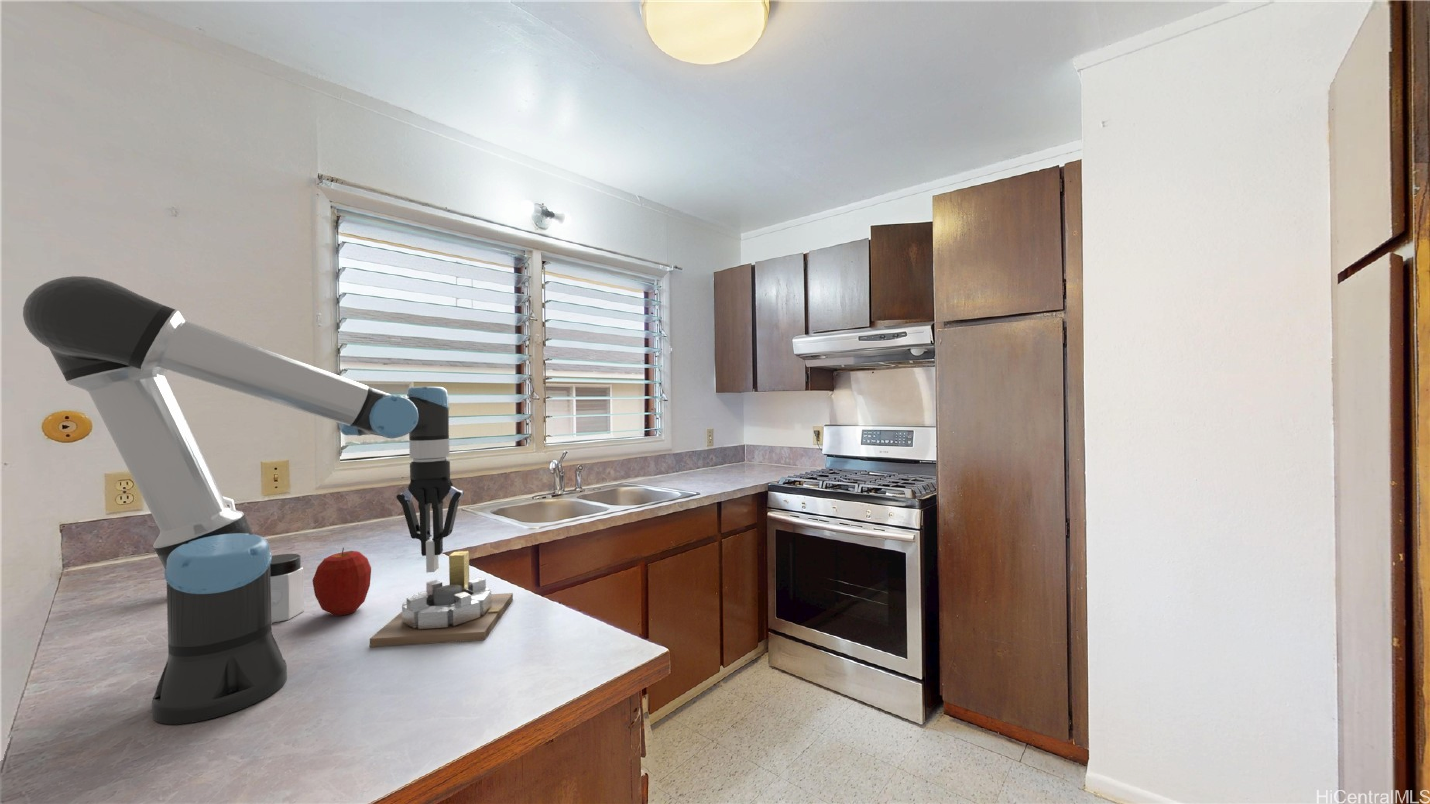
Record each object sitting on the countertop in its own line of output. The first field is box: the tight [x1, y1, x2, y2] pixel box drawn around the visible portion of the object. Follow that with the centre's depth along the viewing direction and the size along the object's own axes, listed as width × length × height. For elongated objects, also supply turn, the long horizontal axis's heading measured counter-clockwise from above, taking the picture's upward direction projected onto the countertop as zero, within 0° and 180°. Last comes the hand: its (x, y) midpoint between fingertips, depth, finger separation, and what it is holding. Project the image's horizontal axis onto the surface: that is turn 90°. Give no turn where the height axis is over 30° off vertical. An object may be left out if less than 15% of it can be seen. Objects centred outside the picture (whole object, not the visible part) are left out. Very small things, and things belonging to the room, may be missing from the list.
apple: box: [312, 547, 372, 617], centre depth 114 cm, size 10×10×14 cm
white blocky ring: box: [401, 550, 492, 629], centre depth 109 cm, size 16×15×10 cm
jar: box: [270, 553, 305, 624], centre depth 112 cm, size 9×8×12 cm
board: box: [369, 584, 514, 648], centre depth 109 cm, size 20×20×6 cm
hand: (432, 570), depth 115 cm, fingers closed
